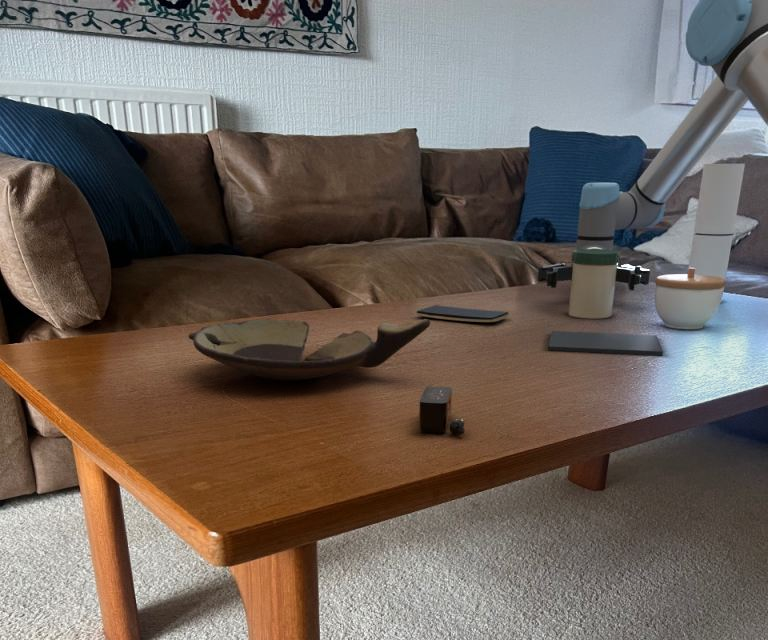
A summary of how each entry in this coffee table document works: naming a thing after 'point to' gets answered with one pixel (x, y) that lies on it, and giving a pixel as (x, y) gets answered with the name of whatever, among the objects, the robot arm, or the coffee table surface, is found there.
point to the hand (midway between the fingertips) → (592, 281)
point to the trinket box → (687, 299)
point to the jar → (592, 290)
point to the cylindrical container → (716, 219)
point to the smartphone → (462, 314)
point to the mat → (605, 343)
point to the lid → (596, 256)
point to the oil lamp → (298, 348)
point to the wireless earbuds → (437, 411)
